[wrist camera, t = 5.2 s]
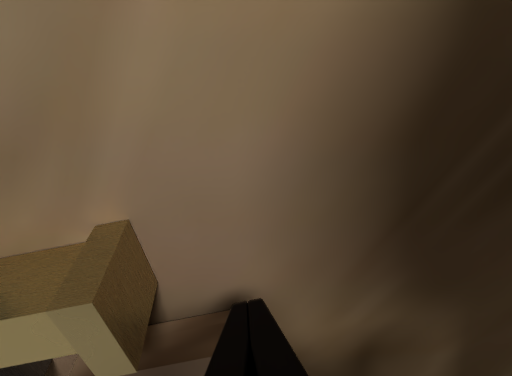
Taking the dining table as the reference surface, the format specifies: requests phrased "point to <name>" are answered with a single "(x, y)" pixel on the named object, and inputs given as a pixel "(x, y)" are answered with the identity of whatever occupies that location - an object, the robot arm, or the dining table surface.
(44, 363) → the socket block
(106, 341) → the drift key
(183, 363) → the brown square frame
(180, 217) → the dining table surface
